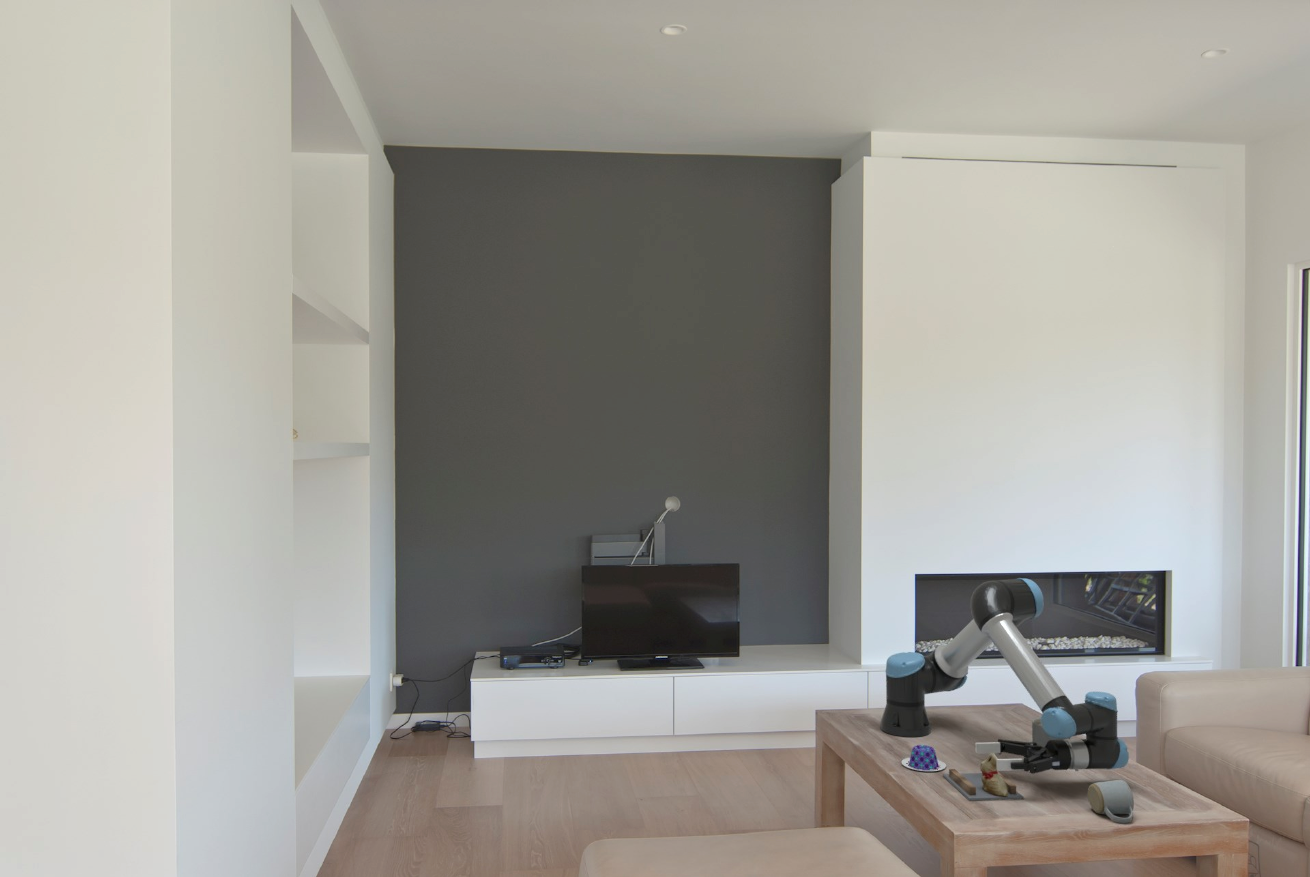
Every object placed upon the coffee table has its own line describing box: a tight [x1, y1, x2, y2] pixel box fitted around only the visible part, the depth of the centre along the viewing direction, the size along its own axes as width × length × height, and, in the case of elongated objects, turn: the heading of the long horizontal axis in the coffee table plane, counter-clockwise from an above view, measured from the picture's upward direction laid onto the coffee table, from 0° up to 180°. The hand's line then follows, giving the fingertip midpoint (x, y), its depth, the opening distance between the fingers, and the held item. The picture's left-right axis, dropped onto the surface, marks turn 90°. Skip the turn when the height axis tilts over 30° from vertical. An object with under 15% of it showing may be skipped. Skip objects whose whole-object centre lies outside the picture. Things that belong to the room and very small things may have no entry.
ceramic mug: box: [1087, 779, 1135, 824], centre depth 227 cm, size 11×8×8 cm
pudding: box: [901, 744, 947, 772], centre depth 264 cm, size 12×12×5 cm
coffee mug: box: [1031, 717, 1071, 747], centre depth 271 cm, size 13×10×10 cm
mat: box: [942, 772, 1025, 802], centre depth 246 cm, size 18×14×1 cm
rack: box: [948, 768, 1017, 795], centre depth 246 cm, size 14×12×2 cm
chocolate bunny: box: [979, 752, 1008, 796], centre depth 242 cm, size 6×8×10 cm
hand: (985, 756), depth 246 cm, fingers open, 13 cm apart
